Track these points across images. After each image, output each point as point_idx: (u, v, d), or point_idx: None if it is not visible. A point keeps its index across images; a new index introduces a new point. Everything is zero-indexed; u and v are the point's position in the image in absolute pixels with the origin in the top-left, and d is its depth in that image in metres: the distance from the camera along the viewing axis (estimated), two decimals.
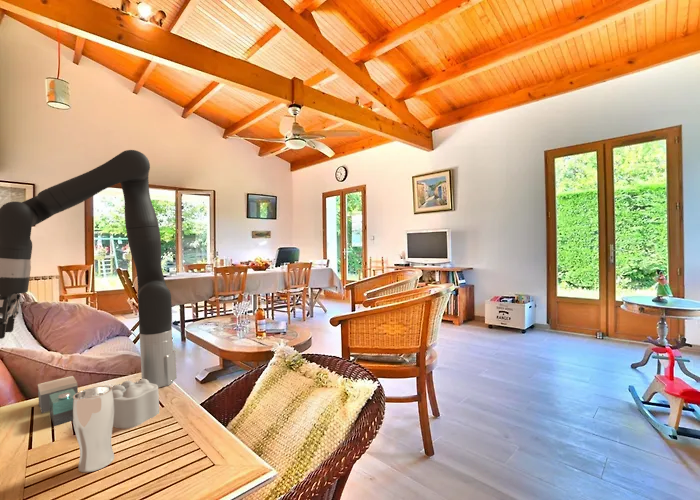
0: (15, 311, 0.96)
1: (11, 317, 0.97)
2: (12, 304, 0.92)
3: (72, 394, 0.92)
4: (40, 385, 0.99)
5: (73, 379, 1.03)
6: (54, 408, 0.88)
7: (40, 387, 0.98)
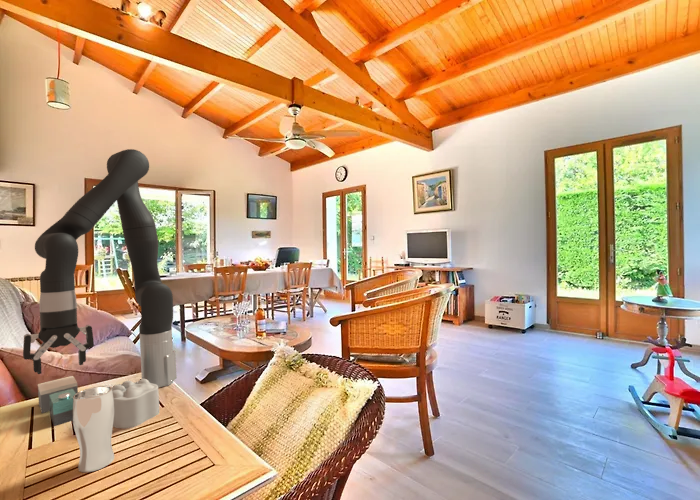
0: None
1: None
2: None
3: (72, 394, 0.92)
4: (40, 385, 0.99)
5: (73, 379, 1.03)
6: (54, 408, 0.88)
7: (40, 387, 0.98)
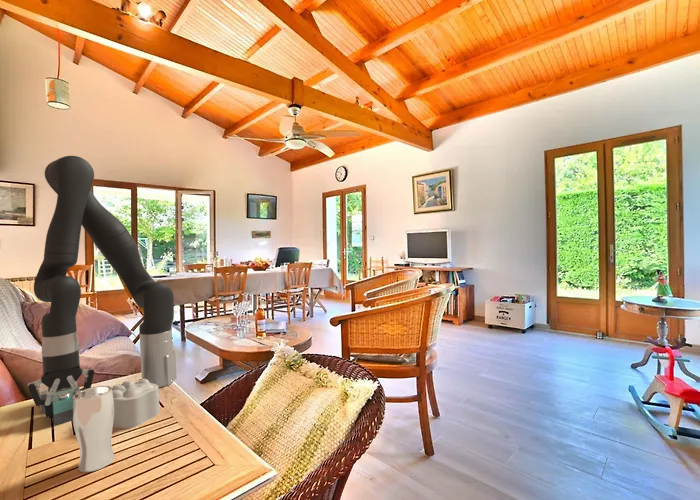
0: None
1: None
2: None
3: (72, 394, 0.92)
4: (40, 385, 0.99)
5: None
6: (54, 408, 0.88)
7: (40, 387, 0.98)
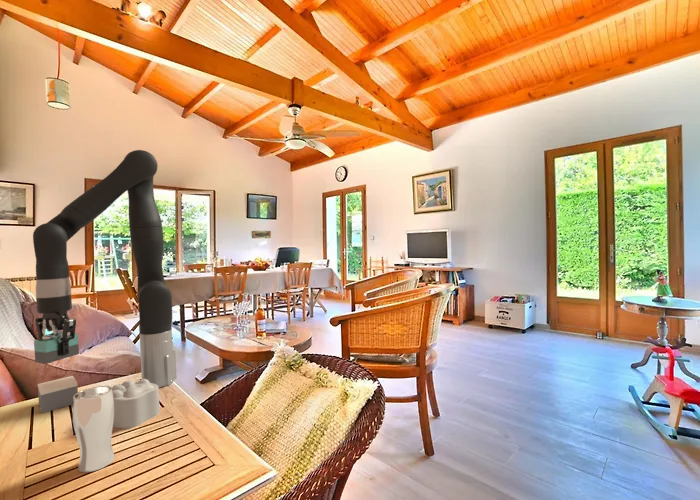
0: None
1: None
2: None
3: (56, 338, 0.95)
4: (40, 385, 0.99)
5: (73, 379, 1.03)
6: (34, 345, 0.94)
7: (40, 387, 0.98)
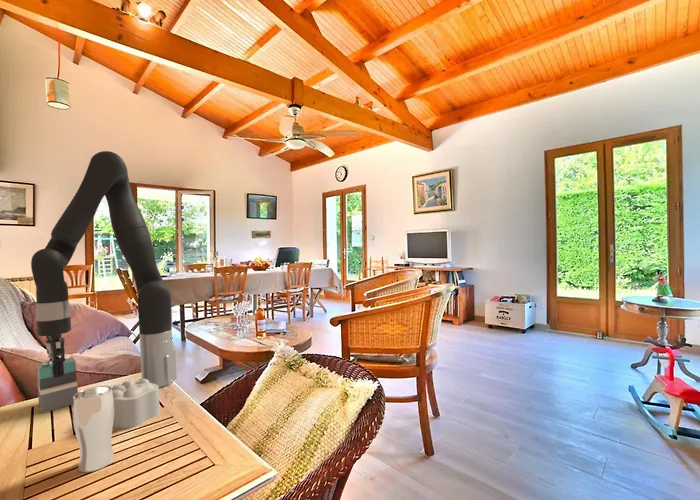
0: None
1: (56, 356, 1.03)
2: None
3: (52, 365, 0.98)
4: None
5: None
6: None
7: None
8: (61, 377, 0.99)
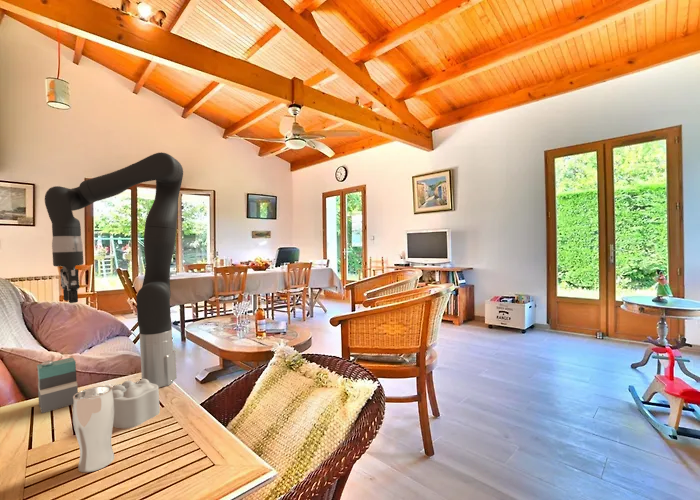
0: None
1: None
2: None
3: (52, 365, 0.98)
4: None
5: None
6: None
7: None
8: (61, 377, 0.99)
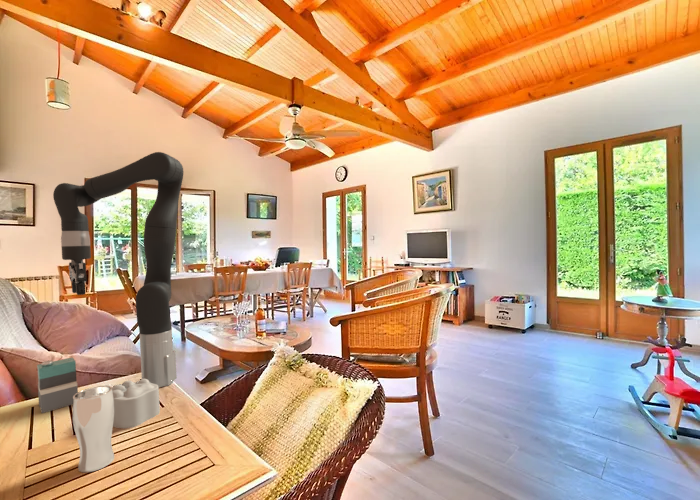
0: None
1: None
2: None
3: (52, 365, 0.98)
4: None
5: None
6: None
7: None
8: (61, 377, 0.99)
